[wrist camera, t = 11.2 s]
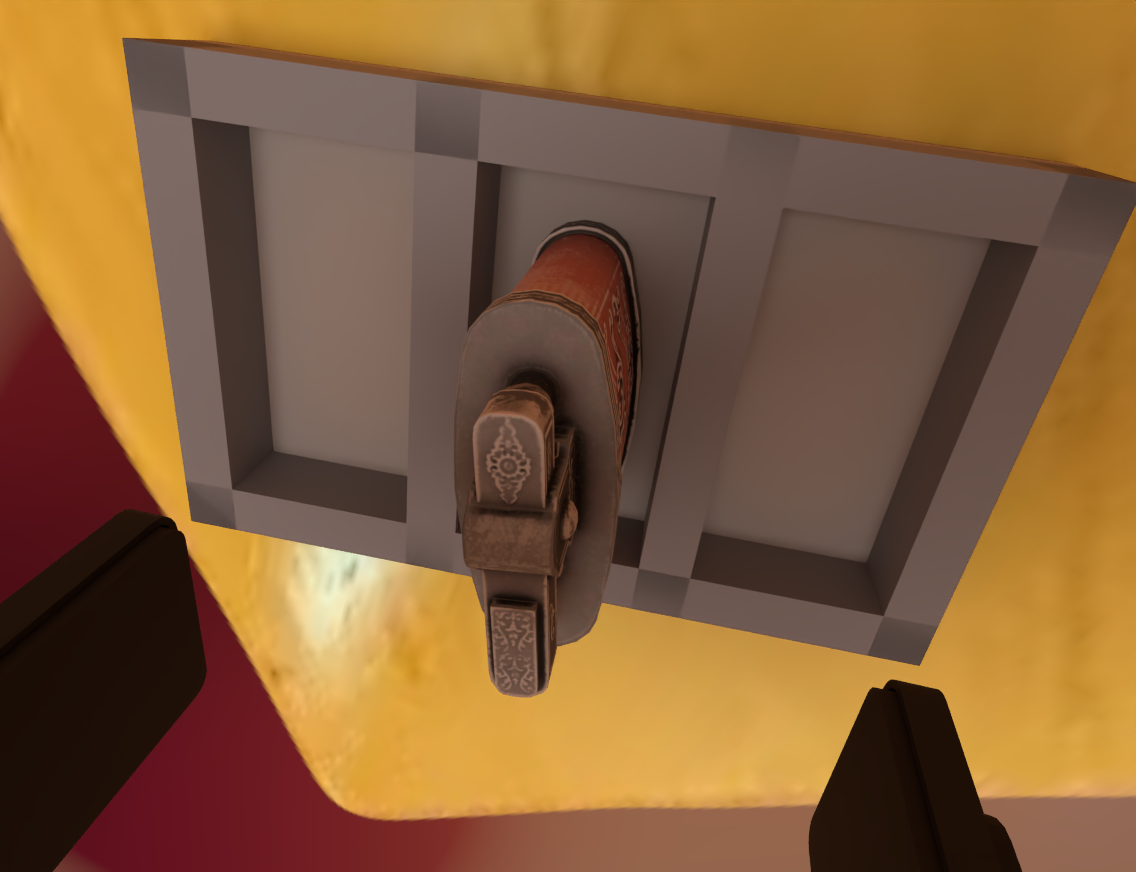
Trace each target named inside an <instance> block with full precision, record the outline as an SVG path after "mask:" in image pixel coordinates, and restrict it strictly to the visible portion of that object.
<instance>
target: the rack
mask: <svg viewBox="0 0 1136 872" xmlns="http://www.w3.org/2000/svg"><path fill="white" fill-rule="evenodd" d="M122 39H123V46H124V53H125V60H126V67H127V74H128V81H129V88H130V95H131V102H132V109H133V116H134V123H135V130H136V137H137V144H138V151H139V158H140V165H141V172H142V179H143V186H144V193H145V200H146V207H147V214H148V221H149V228H150V235H151V242H152V249H153V256H154V262H155V269H156V276H157V283H158V290H159V297H160V304H161V311H162V318H163V325H164V332H165V339H166V346H167V353H168V360H169V367H170V374H171V381H172V388H173V395H174V402H175V409H176V416H177V423H178V430H179V437H180V444H181V451H182V458H183V465H184V472H185V479H186V486H187V493H188V500H189V507H190V514H191V521H195V522H200V523H205V524H210V525H215V526H220V527H225V528H230V529H235V530H240V531H245V532H250V533H255V534H260V535H265V536H270V537H275V538H280V539H285V540H290V541H295V542H300V543H305V544H310V545H315V546H320V547H325V548H330V549H335V550H340V551H345V552H350V553H355V554H360V555H365V556H370V557H375V558H380V559H385V560H390V561H396V562H401V563H406V564H411V565H416V566H421V567H426V568H431V569H436V570H441V571H446V572H451V573H456V574H461V575H466V576H471V577H472V575H471V572H470V568H469V567H467V566H466V564H465V561H464V556H463V544H462V533H461V527H460V521H459V515H458V509H457V503H456V497H455V491H454V411H455V403H456V395H457V387H458V379H459V371H460V363H461V355H462V347H463V344H464V341H465V338H466V336H467V333H468V330H469V328H470V327H471V325H472V324H473V323H474V322H475V321H476V320H477V318H478V317H479V316H480V315H481V314H482V313H483V312H484V311H485V310H486V309H487V308H488V307H489V306H490V305H491V303H492V302H493V301H495V300H497V299H499V298H501V297H504V296H506V295H508V294H510V293H511V292H512V291H513V289H514V288H515V287H516V286H517V284H518V283H519V282H520V281H521V279H522V278H523V277H524V276H525V274H526V273H527V272H528V271H529V269H530V268H531V266H532V260H533V258H534V255H535V253H536V250H537V248H538V246H539V245H540V244H541V243H542V241H543V240H544V239H545V238H546V237H547V236H548V235H549V234H550V233H551V232H552V231H553V230H554V229H555V228H557V227H559V226H561V225H563V224H565V223H567V222H571V221H578V220H591V221H596V222H602V223H604V224H606V225H608V226H609V227H611V228H613V229H615V230H617V231H618V232H619V233H620V234H621V236H622V237H623V238H624V239H625V240H626V241H627V242H628V245H629V247H630V250H631V252H632V255H633V260H634V267H635V273H636V280H637V286H638V292H639V299H640V305H641V316H642V348H643V369H642V377H641V385H640V394H639V402H638V410H637V417H636V423H635V428H634V432H633V436H632V440H631V444H630V448H629V452H628V455H627V459H626V463H625V467H624V471H623V473H622V486H621V495H620V503H619V512H618V521H617V529H616V538H615V546H614V552H613V558H612V564H611V568H610V572H609V576H608V580H607V583H606V587H605V591H604V594H603V598H602V603H607V604H612V605H617V606H622V607H627V608H632V609H637V610H642V611H647V612H652V613H657V614H662V615H667V616H672V617H677V618H682V619H687V620H692V621H697V622H702V623H707V624H712V625H717V626H722V627H727V628H732V629H737V630H742V631H747V632H752V633H757V634H762V635H767V636H772V637H777V638H782V639H787V640H792V641H797V642H802V643H808V644H813V645H818V646H823V647H828V648H833V649H838V650H843V651H848V652H853V653H858V654H863V655H868V656H873V657H878V658H883V659H888V660H893V661H898V662H903V663H908V664H913V665H918V666H920V664H921V662H922V660H923V657H924V655H925V653H926V651H927V649H928V647H929V645H930V643H931V640H932V638H933V636H934V634H935V632H936V630H937V628H938V625H939V623H940V621H941V619H942V617H943V615H944V613H945V611H946V608H947V606H948V604H949V602H950V600H951V598H952V596H953V593H954V591H955V589H956V587H957V585H958V583H959V581H960V578H961V576H962V574H963V572H964V570H965V568H966V566H967V564H968V561H969V559H970V557H971V555H972V553H973V551H974V549H975V546H976V544H977V542H978V540H979V538H980V536H981V534H982V532H983V529H984V527H985V525H986V523H987V521H988V519H989V517H990V514H991V512H992V510H993V508H994V506H995V504H996V502H997V500H998V497H999V495H1000V493H1001V491H1002V489H1003V487H1004V485H1005V482H1006V480H1007V478H1008V476H1009V474H1010V472H1011V470H1012V467H1013V465H1014V463H1015V461H1016V459H1017V457H1018V455H1019V453H1020V450H1021V448H1022V446H1023V444H1024V442H1025V440H1026V438H1027V435H1028V433H1029V431H1030V429H1031V427H1032V425H1033V423H1034V421H1035V418H1036V416H1037V414H1038V412H1039V410H1040V408H1041V406H1042V403H1043V401H1044V399H1045V397H1046V395H1047V393H1048V391H1049V388H1050V386H1051V384H1052V382H1053V380H1054V378H1055V376H1056V374H1057V371H1058V369H1059V367H1060V365H1061V363H1062V361H1063V359H1064V356H1065V354H1066V352H1067V350H1068V348H1069V346H1070V344H1071V342H1072V339H1073V337H1074V335H1075V333H1076V331H1077V329H1078V327H1079V324H1080V322H1081V320H1082V318H1083V316H1084V314H1085V312H1086V309H1087V307H1088V305H1089V303H1090V301H1091V299H1092V297H1093V295H1094V292H1095V290H1096V288H1097V286H1098V284H1099V282H1100V280H1101V277H1102V275H1103V273H1104V271H1105V269H1106V267H1107V265H1108V263H1109V260H1110V258H1111V256H1112V254H1113V252H1114V250H1115V248H1116V245H1117V243H1118V241H1119V239H1120V237H1121V235H1122V233H1123V231H1124V228H1125V226H1126V224H1127V222H1128V220H1129V218H1130V216H1131V213H1132V211H1133V209H1134V207H1135V205H1136V182H1132V181H1129V180H1125V179H1122V178H1118V177H1115V176H1111V175H1108V174H1104V173H1101V172H1097V171H1094V170H1090V169H1087V168H1083V167H1080V166H1076V165H1073V164H1069V163H1062V162H1055V161H1048V160H1041V159H1034V158H1027V157H1020V156H1013V155H1006V154H999V153H992V152H985V151H978V150H971V149H964V148H957V147H950V146H943V145H936V144H929V143H922V142H915V141H908V140H901V139H894V138H887V137H880V136H873V135H866V134H859V133H852V132H845V131H838V130H831V129H824V128H817V127H810V126H803V125H796V124H789V123H782V122H775V121H768V120H761V119H754V118H747V117H740V116H733V115H726V114H719V113H712V112H705V111H698V110H691V109H684V108H677V107H670V106H663V105H656V104H649V103H642V102H635V101H628V100H621V99H614V98H607V97H600V96H593V95H586V94H579V93H572V92H565V91H558V90H551V89H544V88H537V87H530V86H523V85H516V84H509V83H502V82H495V81H488V80H481V79H474V78H467V77H460V76H453V75H446V74H439V73H432V72H425V71H418V70H411V69H404V68H397V67H390V66H383V65H376V64H369V63H362V62H355V61H348V60H341V59H334V58H327V57H320V56H313V55H306V54H299V53H292V52H285V51H278V50H271V49H264V48H257V47H250V46H243V45H236V44H229V43H222V42H215V41H199V40H170V39H140V38H122Z"/></svg>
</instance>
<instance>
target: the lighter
mask: <svg viewBox="0 0 1136 872" xmlns="http://www.w3.org/2000/svg"><path fill="white" fill-rule="evenodd" d="M642 369H643V348H642V316H641V305H640V299H639V292H638V286H637V280H636V273H635V267H634V260H633V255H632V252H631V250H630V247H629V245H628V242H627V241H626V240H625V239H624V238H623V237H622V236H621V234H620V233H619V232H618V231H617V230H615V229H613V228H611V227H609V226H608V225H606V224H604V223H602V222H596V221H591V220H578V221H571V222H567V223H565V224H563V225H561V226H559V227H557V228H555V229H554V230H553V231H552V232H551V233H550V234H549V235H548V236H547V237H546V238H545V239H544V240H543V241H542V243H541V244H540V245H539V246H538V248H537V250H536V253H535V255H534V258H533V260H532V266H531V268H530V269H529V271H528V272H527V273H526V274H525V276H524V277H523V278H522V279H521V281H520V282H519V283H518V284H517V286H516V287H515V288H514V289H513V291H512V292H511V293H510V294H508V295H506V296H504V297H501V298H499V299H497V300H495V301H493V302H492V303H491V305H490V306H489V307H488V308H487V309H486V310H485V311H484V312H483V313H482V314H481V315H480V316H479V317H478V318H477V320H476V321H475V322H474V323H473V324H472V325H471V327H470V328H469V330H468V333H467V336H466V338H465V341H464V344H463V347H462V355H461V363H460V371H459V379H458V387H457V395H456V403H455V411H454V491H455V497H456V503H457V509H458V515H459V521H460V527H461V533H462V544H463V556H464V561H465V564H466V566H467V567H469V568H470V572H471V575H472V578H473V582H474V585H475V588H476V591H477V595H478V598H479V601H480V605H481V608H482V610H483V612H484V614H485V623H486V637H487V651H488V665H489V674H490V678H491V681H492V683H493V684H494V685H495V687H496V688H497V689H498V691H499V692H501V693H502V694H505V695H509V696H515V697H532V696H534V695H538V694H541V693H543V692H544V691H545V690H546V689H547V687H548V683H549V679H550V675H551V671H552V667H553V663H554V658H555V654H556V649H557V646H562V645H565V644H569V643H573V642H576V641H578V640H579V639H581V638H582V637H584V636H585V635H586V634H588V633H589V632H590V631H591V629H592V627H593V626H594V624H595V622H596V620H597V617H598V613H599V609H600V606H601V602H602V598H603V594H604V591H605V587H606V583H607V580H608V576H609V572H610V568H611V564H612V558H613V552H614V546H615V538H616V529H617V521H618V512H619V503H620V495H621V486H622V473H623V471H624V467H625V463H626V459H627V455H628V452H629V448H630V444H631V440H632V436H633V432H634V428H635V423H636V417H637V410H638V402H639V394H640V385H641V377H642Z"/></svg>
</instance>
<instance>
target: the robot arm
mask: <svg viewBox="0 0 1136 872" xmlns="http://www.w3.org/2000/svg"><path fill="white" fill-rule="evenodd" d="M206 672H207V670H206V661H205V655H204V649H203V643H202V637H201V631H200V624H199V618H198V613H197V606H196V600H195V594H194V588H193V582H192V576H191V570H190V564H189V557H188V551H187V545H186V539H185V536H184V534H183V533H182V532H181V531H178V529H177V526H176V523H175V522H174V521H173V520H172V519H171V518H168V517H164V516H160V515H155V514H151V513H146V512H141V511H137V510H133V509H129V510H124V511H122V512H120V513H119V514H117V515H116V516H114V517H113V518H112V519H111V520H109V521H108V522H106V523H105V524H104V525H103V526H101V527H100V528H99V529H97V530H96V531H95V532H93V533H92V534H91V535H89V536H88V537H87V538H86V539H85V540H83V541H82V542H80V543H79V544H78V545H76V546H75V547H74V548H73V549H71V550H70V551H69V552H67V553H66V554H65V555H63V556H62V557H61V558H59V559H58V560H57V561H56V562H54V563H53V564H52V565H50V566H49V567H48V568H47V569H45V570H44V571H43V572H41V573H40V574H39V575H38V576H36V577H35V578H33V579H32V580H31V581H29V582H28V583H27V584H25V585H24V586H23V587H22V588H20V589H19V590H18V591H16V592H15V593H14V594H12V595H11V596H10V597H9V598H7V599H6V600H5V601H3V602H2V603H1V604H0V872H53V871H54V869H55V868H56V867H57V866H58V865H59V863H60V862H61V861H62V860H63V858H64V857H65V856H66V854H68V852H69V851H70V850H71V849H72V847H73V846H74V845H75V844H76V842H77V841H78V840H79V839H80V838H81V836H82V835H83V834H84V833H85V832H86V830H87V829H88V828H89V827H90V825H91V824H92V823H93V822H94V821H95V819H96V818H97V817H98V816H99V814H100V813H101V812H102V811H103V810H104V808H105V807H106V806H107V804H108V803H109V802H110V801H111V800H112V798H113V797H114V796H115V795H116V794H117V792H118V791H119V790H120V789H121V788H122V786H123V785H124V784H125V783H126V781H127V780H128V779H129V778H130V776H131V775H132V774H133V773H134V772H135V770H136V769H137V768H138V767H139V765H140V764H141V763H142V762H143V761H144V759H145V758H146V757H147V756H148V755H149V753H150V752H151V751H152V750H153V748H154V747H155V746H156V745H157V744H158V742H159V741H160V740H161V739H162V737H163V736H164V735H165V734H166V733H167V731H168V730H169V729H170V728H171V726H172V725H173V724H174V723H175V721H176V720H177V719H178V718H179V717H180V716H181V714H182V713H183V712H184V711H185V709H186V708H187V707H188V706H189V705H190V703H191V702H192V701H193V699H194V698H195V697H196V696H197V694H198V693H199V692H200V690H201V688H202V686H203V684H204V681H205V678H206ZM809 855H810V865H811V872H1022V870H1021V867H1020V864H1019V862H1018V859H1017V856H1016V853H1015V850H1014V848H1013V845H1012V842H1011V840H1010V838H1009V836H1008V833H1007V831H1006V829H1005V827H1004V826H1003V825H1002V824H1001V823H1000V822H999V820H997V818H994V817H992V816H990V815H986V814H984V812H983V809H982V806H981V803H980V800H979V797H978V794H977V791H976V788H975V785H974V782H973V779H972V776H971V773H970V770H969V767H968V764H967V761H966V758H965V755H964V752H963V749H962V746H961V743H960V740H959V737H958V734H957V731H956V728H955V725H954V722H953V719H952V716H951V713H950V710H949V707H948V704H947V701H946V699H945V697H944V695H943V693H942V692H941V691H940V690H938V689H934V688H929V687H925V686H920V685H916V684H911V683H907V682H902V681H898V680H889V681H888V682H887V683H886V685H885V686H884V688H883V689H879V688H874V687H873V688H871V689H870V690H869V692H868V694H867V696H866V698H865V700H864V703H863V705H862V707H861V709H860V712H859V714H858V716H857V718H856V721H855V723H854V725H853V727H852V730H851V732H850V734H849V736H848V739H847V741H846V743H845V745H844V748H843V750H842V752H841V754H840V757H839V759H838V761H837V763H836V766H835V768H834V770H833V772H832V775H831V777H830V779H829V781H828V784H827V786H826V788H825V790H824V792H823V795H822V797H821V799H820V801H819V804H818V806H817V808H816V811H815V813H814V815H813V818H812V820H811V825H810V831H809Z"/></svg>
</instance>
